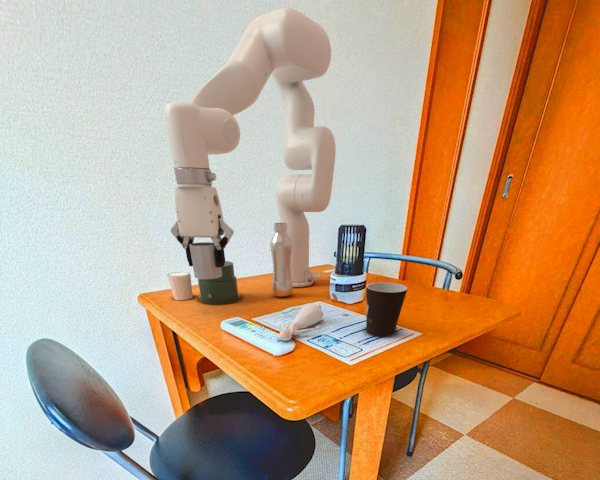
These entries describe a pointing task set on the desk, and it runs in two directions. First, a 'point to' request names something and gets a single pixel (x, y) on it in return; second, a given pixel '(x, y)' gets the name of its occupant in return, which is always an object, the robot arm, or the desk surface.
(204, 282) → the dark green tiered cylinder
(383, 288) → the coffee mug
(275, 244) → the silver metal bottle
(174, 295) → the pale pink short cylinder
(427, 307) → the desk surface
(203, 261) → the silver cup
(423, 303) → the desk surface
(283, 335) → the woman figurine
